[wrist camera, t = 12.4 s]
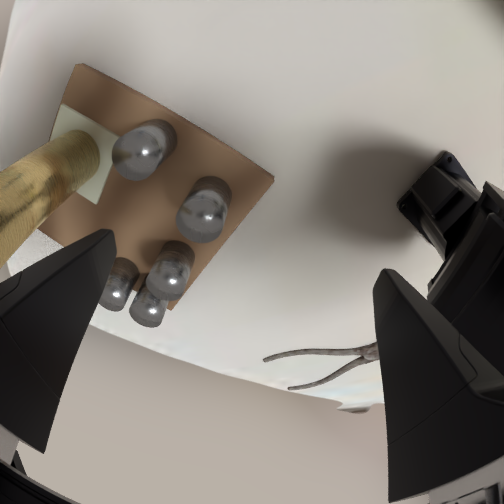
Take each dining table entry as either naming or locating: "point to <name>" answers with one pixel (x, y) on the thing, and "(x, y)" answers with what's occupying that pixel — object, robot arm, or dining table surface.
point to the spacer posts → (187, 220)
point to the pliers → (367, 353)
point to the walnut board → (153, 187)
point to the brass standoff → (42, 185)
